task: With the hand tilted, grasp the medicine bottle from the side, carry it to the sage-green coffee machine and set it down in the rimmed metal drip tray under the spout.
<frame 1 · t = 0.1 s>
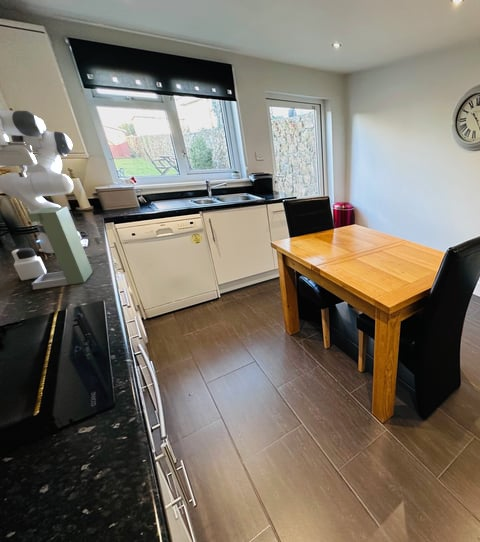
hand: (7, 177, 117), 39 cm above the worktop, tool pointing down, fingers open, 8 cm apart
coffee maker: (60, 280, 116), on the worktop
medicine bottle: (34, 276, 120), on the worktop
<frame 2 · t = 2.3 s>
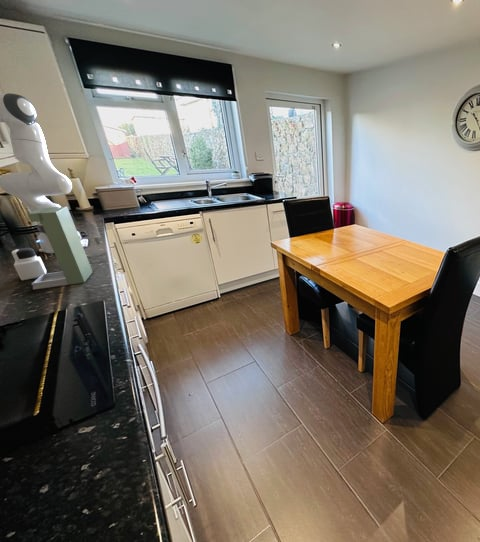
nothing on the worktop moved.
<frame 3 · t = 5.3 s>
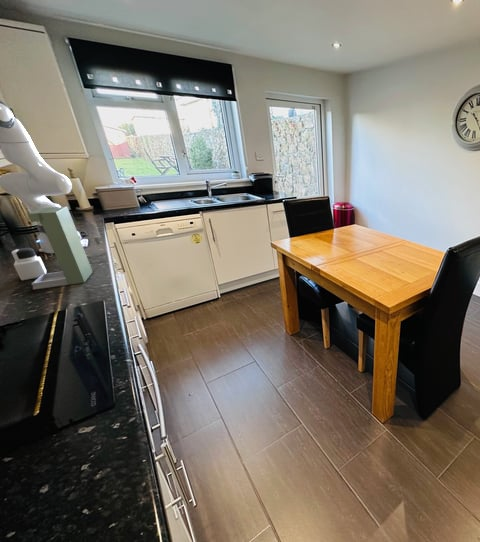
nothing on the worktop moved.
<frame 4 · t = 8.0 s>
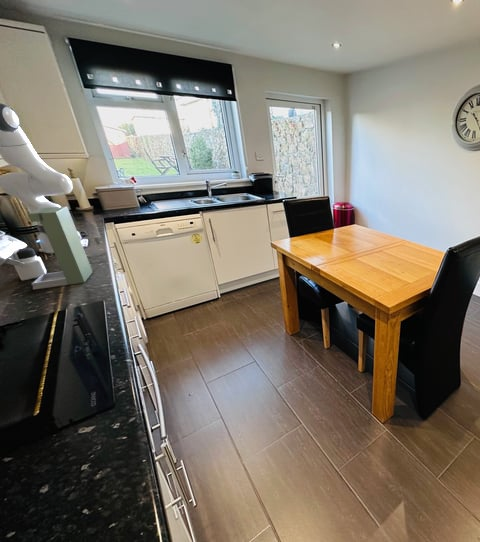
hand: (29, 261, 117), 7 cm above the worktop, tool tilted 45°, fingers closed on medicine bottle, 8 cm apart
medicine bottle: (34, 276, 120), on the worktop, touching gripper
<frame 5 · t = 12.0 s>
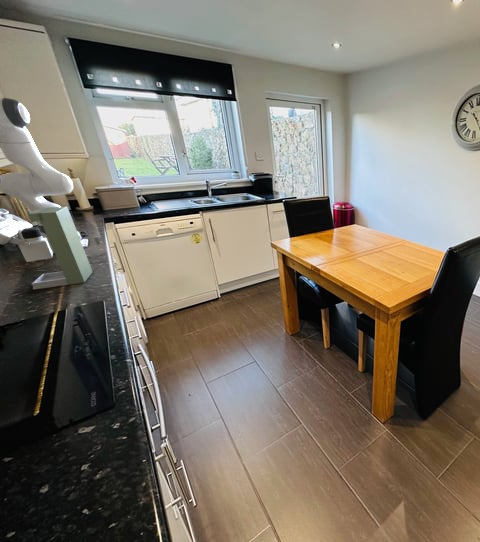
hand: (35, 241, 110), 17 cm above the worktop, tool tilted 45°, fingers closed on medicine bottle, 8 cm apart
medicine bottle: (40, 258, 113), point 10 cm above the worktop, touching gripper
when the fingers open (7 cm above the worktop, at t = 15.9 s): medicine bottle stays where it is, point 1 cm above the worktop.
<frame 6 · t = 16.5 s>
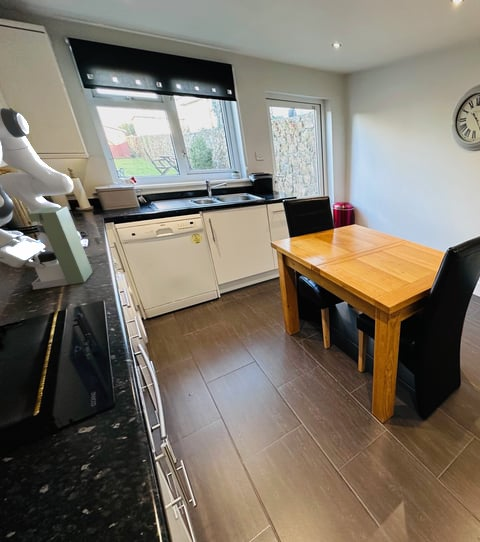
hand: (48, 263, 112), 8 cm above the worktop, tool tilted 45°, fingers open, 8 cm apart
medicine bottle: (55, 280, 115), point 1 cm above the worktop, touching gripper
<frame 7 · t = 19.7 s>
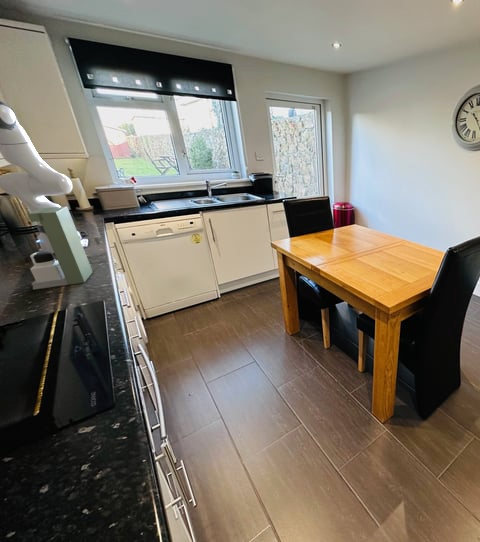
medicine bottle: (53, 280, 115), point 1 cm above the worktop, touching coffee maker
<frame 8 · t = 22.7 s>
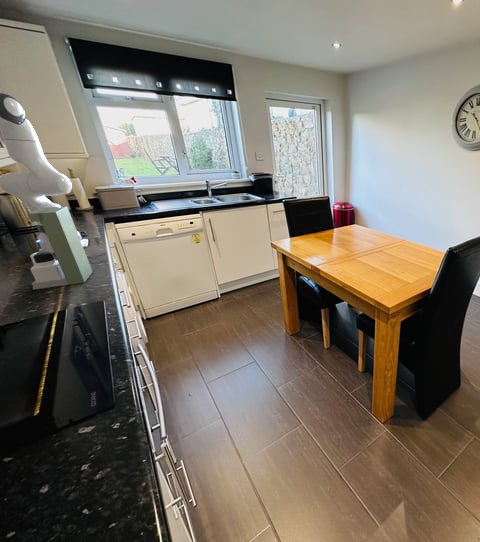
nothing on the worktop moved.
at the end: medicine bottle 0.8 cm from the target spot on the coffee maker, point 0.6 cm above the coffee maker's base; medicine bottle tilted 0°; the gripper is holding nothing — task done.
